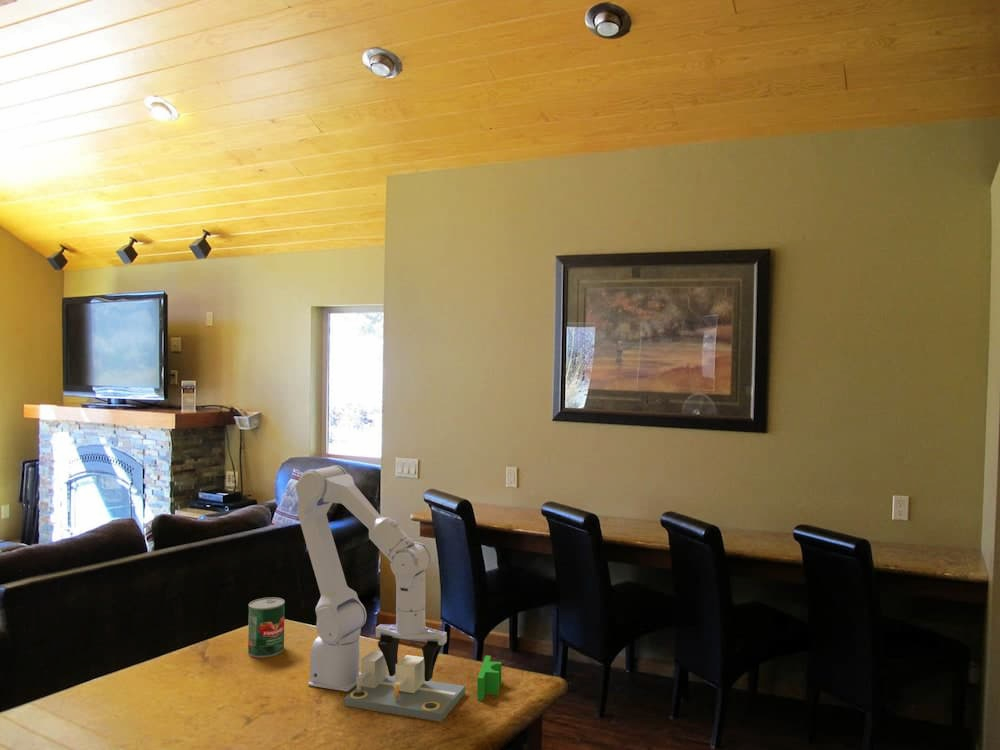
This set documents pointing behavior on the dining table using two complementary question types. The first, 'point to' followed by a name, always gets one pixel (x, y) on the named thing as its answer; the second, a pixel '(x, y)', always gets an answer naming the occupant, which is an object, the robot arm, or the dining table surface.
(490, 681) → the pipe clamp
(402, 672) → the block
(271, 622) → the canned tomato
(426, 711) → the plate
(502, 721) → the dining table surface
